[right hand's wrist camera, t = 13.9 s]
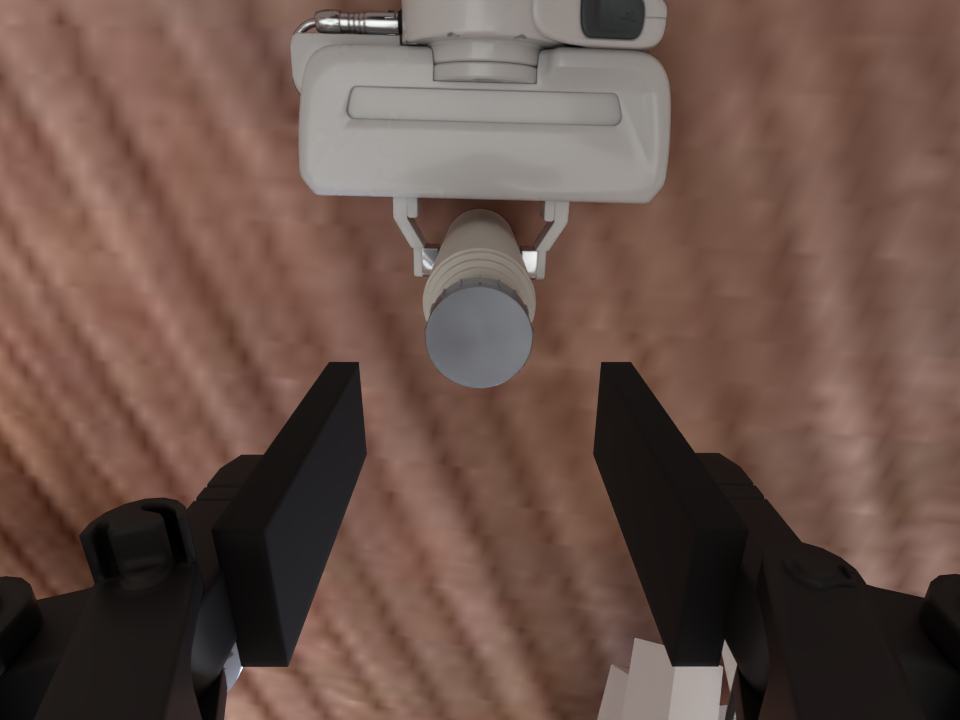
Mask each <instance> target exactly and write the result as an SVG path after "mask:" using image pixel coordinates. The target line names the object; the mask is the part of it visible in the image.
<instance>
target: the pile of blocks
mask: <svg viewBox="0 0 960 720" xmlns="http://www.w3.org/2000/svg"><path fill="white" fill-rule="evenodd" d="M722 656H723V661H724V666H725V670H726V675H727V680H728V684H729V689H730V692H731V688H732V684H733V679H734V675H735V671H736V667H737V663H736V661H735V659H734V657H733V655H732V653H731V651H730V649H729V647H728V645H727V643H726V641H725V640H724V645H723V649H722ZM722 675H723V666H720V665H719V667H672V665H671V663H670V660H669V657H668V655H667V652H666V649H665V646H664V645H661V644H657V643H653V642H649V641H645V640H642V639H638V638H635V639H634V645H633V651H632V657H631V663H630V669H628V668H625V667H621V666H617V665H614V664H611V668H610V671H609V675H608V679H607V683H606V687H605V691H604V695H603V699H602V703H601V707H600V711H599V715H598V719H597V720H725V715H726V709H727V705H723V706H719V705H720V695H721V685H722ZM733 720H736V713H735V715H734V719H733Z"/></svg>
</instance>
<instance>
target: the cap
mask: <svg viewBox="0 0 960 720" xmlns="http://www.w3.org/2000/svg"><path fill="white" fill-rule="evenodd" d="M429 313H430V316H429V319H428V321H427V323H426V327H425V331H426V333H425V342H426V348H427V352H428V355H429V357H430V359H431V361H432V363H433V364H434V366H435V367H436V368H437V369H438V371H439V372H440V373H441V374H443V375H444V376H445V377H446V378H448V379H449V380H451V381H453V382H455V383H457V384H459V385H462V386H466V387H471V388H487V387H492V386H496V385H499V384H502V383H504V382H505V381H507V380H509V379H510V378H512V377H513V376H514V375H516V374H517V373H518V372H519V371H520V370H521V368H522V367H523V366H524V364H525V363H526V361H527V359H528V357H529V355H530V352H531V349H532V343H533V333H534V331H533V327H532V324H531V322H530V319H529V311H528V307H527V305H525V304H524V302H523V301H522V299H521V298H520V296H519V295H518V294H517V291H516V290H513V289H512V288H510V287H509V286H508V285H506V284H504V283H503V282H501V281H500V280H499V279H498V280H495V279H491V278H486V277H481V276H479V277H473V278H467V279H463V280H462V279H460V280H459V281H458V282H456V283H454V284H452V285H450V286H449V287H448V288H447V289H445V288H444V289H443V292H442V293H441V294H440V296H439V297H438V298H437V299H436V301H435V303H432V306H431V309H430V312H429Z"/></svg>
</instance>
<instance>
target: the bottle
mask: <svg viewBox="0 0 960 720" xmlns="http://www.w3.org/2000/svg"><path fill="white" fill-rule="evenodd" d="M479 276H481V277H486V278H491V279H495V280H498V279H499V280H500V281H501V282H503V283H504V284H506V285H508V286H509V287H510V288H512V289H513V290H516V291H517V294H518V295H519V296H520V298H521V299H522V301H523V302H524V304H525V305H527V307H528V311H529V319H530V322H531V324H532V321H533V318H534V315H535V309H536V296H535V291H534V287H533V284H532V281H531V279H530V276H529V273H528V271H527V268H526V266H525V263H524V260H523V258H522V255H521V253H520V250H519V247H518V245H517V242H516V240H515V237H514V234H513V232H512V229H511V227H510V226H509V224H508V223H507V221H506V220H505V219H504V218H503V217H501V216H500V215H499V214H497V213H495V212H493V211H490V210H486V209H473V210H469V211H467V212H464V213H463V214H461V215H459V216H458V217H457V218H456V219H455V220H454V221H453V222H452V223H451V225H450V227H449V228H448V231H447V233H446V236H445V238H444V241H443V243H442V246H441V248H440V251H439V253H438V255H437V258H436V260H435V263H434V265H433V268H432V270H431V273H430V275H429V278H428V280H427V283H426V285H425V289H424V293H423V311H424V316H425V319H426V322H427V321H428V319H429V316H430V313H429V312H430V309H431V306H432V303H435V301H436V299H437V298H438V297H439V296H440V294H441V293H442V292H443V289H444V288H445V289H447V288H448V287H449V286H450V285H452V284H454V283H456V282H458V281H459V280H460V279H462V280H463V279H467V278H473V277H479Z"/></svg>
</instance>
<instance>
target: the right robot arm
mask: <svg viewBox="0 0 960 720" xmlns="http://www.w3.org/2000/svg"><path fill="white" fill-rule="evenodd" d="M366 455H367V451H366V440H365V429H364V417H363V406H362V394H361V383H360V371H359V362H329V363H328V365H327V366H326V367H325V369H324V370H323V372H322V373H321V374H320V376H319V377H318V379H317V380H316V382H315V383H314V384H313V386H312V387H311V389H310V390H309V391H308V393H307V394H306V396H305V397H304V398H303V400H302V401H301V403H300V404H299V406H298V407H297V408H296V410H295V411H294V413H293V414H292V415H291V417H290V418H289V420H288V421H287V423H286V424H285V425H284V427H283V428H282V430H281V431H280V432H279V434H278V435H277V437H276V438H275V440H274V441H273V442H272V444H271V445H270V447H269V448H268V449H267V451H266V452H265V454H264V455H240V456H239V457H237V458H236V459H234V460H233V461H231V462H230V463H228V464H226V465H225V466H223V467H222V468H220V469H219V471H218V472H217V473H216V474H215V476H214V477H213V478H212V479H211V481H210V482H209V483H208V484H207V488H204V489H203V490H202V492H201V493H200V494H199V495H198V497H197V500H196V501H194V502H193V503H192V504H191V505H190V506H189V508H188V509H187V510H186V507H185V506H184V505H183V504H181V503H180V502H179V501H178V500H173V499H168V498H150V499H143V500H139V501H135V502H131V503H127V504H124V505H122V506H119V507H117V508H115V509H113V510H110V511H108V512H106V513H104V514H103V515H101V516H100V517H98V518H97V519H95V520H94V521H93V522H91V523H90V524H89V525H88V526H87V527H86V528H85V529H84V531H83V532H82V533H81V534H80V535H79V537H80V540H81V543H82V546H83V549H84V552H85V555H86V558H87V561H88V564H89V567H90V570H91V573H92V576H93V579H94V582H95V584H94V586H93V587H92V588H88V589H85V590H80V591H76V592H71V593H67V594H62V595H58V596H53V597H49V598H44V599H40V600H36V598H35V595H34V593H33V590H32V588H31V585H30V584H29V583H28V582H26V581H25V580H24V579H22V578H18V577H8V576H4V577H0V720H224V715H225V706H226V697H227V692H228V691H229V690H230V689H231V687H232V686H233V684H234V683H235V681H236V680H237V678H238V677H239V675H240V673H241V670H242V668H243V667H288V665H289V663H290V660H291V657H292V655H293V652H294V649H295V646H296V644H297V641H298V638H299V636H300V633H301V630H302V628H303V625H304V622H305V619H306V617H307V614H308V611H309V609H310V606H311V603H312V601H313V598H314V595H315V592H316V590H317V587H318V584H319V582H320V579H321V576H322V574H323V571H324V568H325V565H326V563H327V560H328V557H329V555H330V552H331V549H332V547H333V544H334V541H335V539H336V536H337V533H338V530H339V528H340V525H341V522H342V520H343V517H344V514H345V512H346V509H347V506H348V503H349V501H350V498H351V495H352V493H353V490H354V487H355V485H356V482H357V479H358V476H359V474H360V471H361V468H362V466H363V463H364V460H365V458H366ZM593 455H594V458H595V460H596V463H597V466H598V468H599V471H600V474H601V476H602V479H603V482H604V485H605V487H606V490H607V493H608V495H609V498H610V501H611V503H612V506H613V509H614V512H615V514H616V517H617V520H618V522H619V525H620V528H621V530H622V533H623V536H624V539H625V541H626V544H627V547H628V549H629V552H630V555H631V557H632V560H633V563H634V565H635V568H636V571H637V574H638V576H639V579H640V582H641V584H642V587H643V590H644V592H645V595H646V598H647V601H648V603H649V606H650V609H651V611H652V614H653V617H654V619H655V622H656V625H657V628H658V630H659V633H660V636H661V638H662V641H663V644H664V646H665V649H666V652H667V655H668V657H669V660H670V663H671V665H672V667H719V663H720V658H721V654H722V649H723V645H724V640H725V641H726V643H727V645H728V647H729V649H730V651H731V653H732V655H733V657H734V659H735V661H736V663H737V667H736V671H735V675H734V679H733V684H732V688H731V692H730V696H729V700H728V705H727V709H726V715H725V720H733V719H734V715H735V713H736V720H960V575H959V574H949V575H939V576H938V577H937V578H935V579H934V580H933V581H931V582H930V585H929V588H928V590H927V593H926V595H925V598H923V597H918V596H913V595H909V594H904V593H900V592H895V591H891V590H886V589H882V588H877V587H873V586H870V585H866V583H865V581H864V580H863V578H862V577H861V576H860V574H859V573H858V572H857V570H856V569H855V568H854V567H852V566H851V565H850V564H848V563H847V562H846V561H845V560H843V559H842V558H841V557H839V556H837V555H835V554H833V553H831V552H829V551H827V550H825V549H823V548H820V547H816V546H813V545H810V544H806V543H802V542H801V541H800V539H799V538H798V537H797V536H796V535H795V533H794V532H793V531H792V530H791V528H790V527H789V526H788V525H787V524H786V522H785V521H784V520H783V519H782V517H781V516H780V515H779V514H778V512H777V511H776V510H775V509H774V508H773V506H772V505H771V504H770V503H769V501H768V500H767V499H764V495H763V494H762V493H761V492H760V490H759V489H758V488H757V487H756V486H753V482H752V481H751V479H750V478H749V477H748V476H747V475H746V473H745V472H744V471H743V470H742V468H741V467H740V466H738V465H737V464H735V463H734V462H732V461H730V460H729V459H727V458H726V457H724V456H723V455H721V454H720V453H695V452H694V451H693V449H692V448H691V447H690V445H689V444H688V442H687V441H686V440H685V438H684V437H683V435H682V434H681V432H680V431H679V430H678V428H677V427H676V425H675V424H674V423H673V421H672V420H671V418H670V417H669V415H668V414H667V413H666V411H665V410H664V408H663V407H662V406H661V404H660V403H659V401H658V400H657V398H656V397H655V396H654V394H653V393H652V391H651V390H650V389H649V387H648V386H647V384H646V383H645V382H644V380H643V379H642V377H641V376H640V374H639V373H638V372H637V370H636V369H635V367H634V366H633V365H632V363H631V362H601V371H600V383H599V394H598V406H597V417H596V428H595V440H594V451H593Z"/></svg>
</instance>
